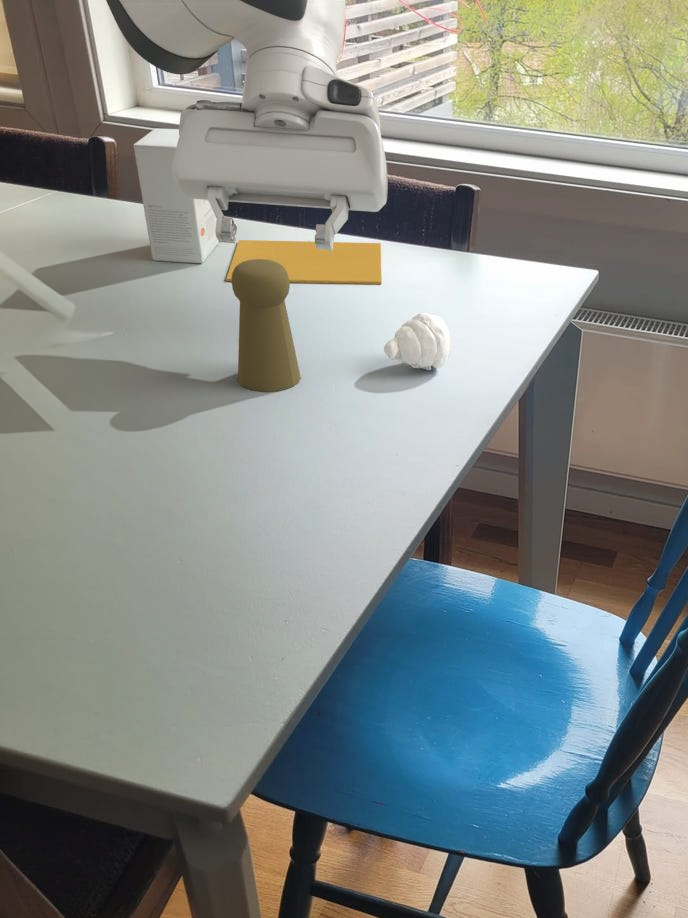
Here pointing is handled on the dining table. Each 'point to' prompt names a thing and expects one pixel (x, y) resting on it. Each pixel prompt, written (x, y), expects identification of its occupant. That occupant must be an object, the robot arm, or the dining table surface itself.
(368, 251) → the linen cloth
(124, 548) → the dining table surface
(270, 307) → the cork
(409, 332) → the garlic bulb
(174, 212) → the small box
